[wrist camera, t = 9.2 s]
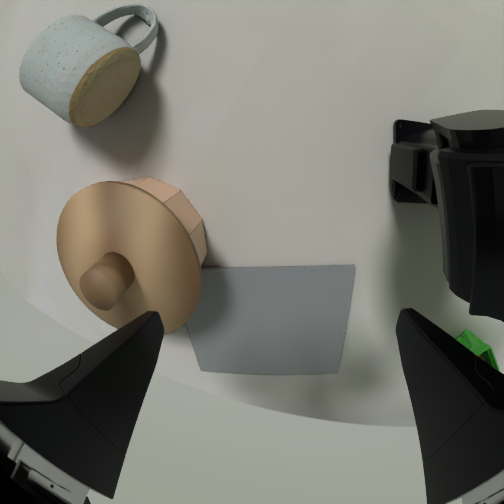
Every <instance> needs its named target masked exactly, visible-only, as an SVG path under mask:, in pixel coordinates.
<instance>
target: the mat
mask: <svg viewBox="0 0 504 504" xmlns="http://www.w3.org/2000/svg"><path fill="white" fill-rule="evenodd" d="M201 273H202V289H201V294H200V298H199V301H198V304H197V306H196V308H195V310H194V312H193V314H192V316H191V317H190V318H189V320H188V321H187V322H186V325H187V328H188V332H189V335H190V338H191V342H192V345H193V348H194V351H195V354H196V358H197V361H198V364H199V367H200V370H201V371H206V372H218V373H232V374H253V375H314V374H334V373H338V368H339V364H340V359H341V354H342V349H343V344H344V339H345V334H346V329H347V323H348V317H349V311H350V304H351V298H352V291H353V283H354V275H355V266H354V265H329V266H284V267H207V268H201Z"/></svg>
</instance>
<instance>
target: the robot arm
mask: <svg viewBox="0 0 504 504" xmlns="http://www.w3.org/2000/svg"><path fill="white" fill-rule="evenodd" d="M430 122H431V124H428V123H422V122H415V121H408V120H396V121H395V122H394V143H393V144H392V146H391V177H392V179H393V189H392V197H393V199H394V200H395V201H397V202H405V203H429V204H431V205H433V206H434V207H435V208H437V209H438V210H439V215H440V224H441V235H442V249H443V271H444V274H445V276H446V279H447V281H448V282H449V288H450V290H451V291H452V292H453V293H454V294H455V295H456V296H458V297H460V298H461V299H463V300H465V301H466V302H469V303H470V307H469V314H470V315H478V316H488V317H492V318H495V319H498V320H501V321H503V322H504V110H478V111H472V112H467V113H461V114H456V115H451V116H446V117H441V118H437V119H432V120H430ZM399 123H401V124H402V128H401V129H400V128H399V126H398V125H399ZM398 193H400V197H399V198H397V194H398ZM396 335H397V340H398V345H399V351H400V357H401V362H402V367H403V371H404V375H405V379H406V382H407V386H408V390H409V394H410V398H411V402H412V407H413V411H414V416H415V420H416V425H417V430H418V435H419V440H420V446H421V453H422V460H423V462H424V463H423V467H424V476H425V485H426V496H427V504H447V503H450V502H452V501H454V500H457V499H458V498H461V497H462V502H463V504H504V374H502V373H501V372H499V371H498V370H496V369H495V368H493V367H492V366H491V365H489V364H488V363H487V362H485V361H484V360H482V359H481V358H480V357H479V356H477V355H475V354H474V353H473V352H472V351H471V350H469V349H468V348H467V347H465V346H464V345H463V344H461V343H460V342H459V341H457V340H456V339H454V338H453V337H452V336H450V335H449V334H448V333H446V332H445V331H443V330H442V329H441V328H439V327H438V326H437V325H435V324H434V323H432V322H431V321H430V320H428V319H427V318H425V317H424V316H422V315H421V314H420V313H418V312H417V311H415V310H414V309H412V308H405V309H402V310H401V311H400V314H399V318H398V321H397V325H396ZM163 336H164V326H163V323H162V320H161V317H160V314H159V312H157V311H146V312H145V313H143V314H142V315H140V316H139V317H137V318H135V319H134V320H132V321H131V322H129V323H128V324H126V325H124V326H123V327H121V328H120V329H118V330H117V331H115V332H113V333H112V334H110V335H109V336H107V337H106V338H104V339H102V340H101V341H99V342H98V343H96V344H95V345H93V346H91V347H90V348H88V349H87V350H85V351H84V352H82V354H79V355H77V356H76V357H74V358H73V359H71V360H69V361H68V362H66V363H64V364H63V365H61V366H59V367H57V368H55V369H54V370H52V371H50V372H48V373H46V374H44V375H42V376H40V377H38V378H37V379H35V380H33V381H30V382H26V383H14V382H7V381H0V504H91V503H90V501H89V499H88V497H87V493H88V491H89V489H91V490H93V491H95V492H97V493H99V494H101V495H104V496H106V497H108V498H110V499H113V497H114V493H115V490H116V486H117V483H118V479H119V476H120V472H121V469H122V466H123V462H124V459H125V455H126V452H127V448H128V446H129V442H130V439H131V436H132V433H133V430H134V427H135V424H136V421H137V418H138V414H139V412H140V409H141V406H142V403H143V400H144V397H145V394H146V392H147V389H148V386H149V383H150V380H151V378H152V375H153V372H154V369H155V366H156V363H157V359H158V355H159V351H160V347H161V343H162V340H163Z"/></svg>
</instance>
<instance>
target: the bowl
mask: <svg viewBox="0 0 504 504" xmlns="http://www.w3.org/2000/svg"><path fill="white" fill-rule="evenodd" d="M122 182H123V183H127V184H131V185H134V186H136V187H139V188H141V189H143V190H145V191H147V192H148V193H150V194H152V195H153V196H155V197H156V198H157V199H159V200H160V201H161V202H163V203H164V204H165V205H166V206H167V207H168V208H169V209H170V210H171V211H172V212H173V213H174V214H175V216H176V217H177V218H178V219H179V220H180V222H181V223H182V225H183V226H184V227H185V229H186V230H187V232H188V234H189V236H190V238H191V240H192V241H193V243H194V246H195V249H196V251H197V254H198V257H199V261H200V265H201V266H202V264H203V261H204V259H205V257H206V254H207V252H208V251H207V245H206V239H205V232H204V226H203V220H202V218H201V217H200V215H199V214H198V213H197V211H196V210H195V209H194V207H193V206H192V205H191V203H190V202H189V201H188V199H187V198H186V197H185V195H184V194H183V193H182V191H181V190H179V189H177V188H174V187H172V186H170V185H168V184H166V183H163V182H161V181H159V180H157V179H155V178H152V177H145V178H138V179H132V180H126V181H122Z"/></svg>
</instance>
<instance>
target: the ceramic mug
mask: <svg viewBox="0 0 504 504" xmlns="http://www.w3.org/2000/svg"><path fill="white" fill-rule="evenodd" d="M132 14H134V15H139V16H140V17H142V18H143V19H145V20H146V21H147V24H148V25H151V27H150V29H149V30H148V32H147V33H146V34H145V35H144V36H143V37H142V38H141V39H140V40H139V41H138V42H137V43H136V44H134V45H130V44H129V43H128V42H126V41H125V40H123V39H122V38H120V37H118V36H117V35H115V34H113V33H111V32H109V31H108V30H106V29H105V28H103V26H105V25H106V24H108V23H110V22H111V21H113V20H115V19H117V18H120V17H123V16H126V15H132ZM158 30H159V28H158V20H157V16H156V13H155V12H154V11H153V10H152V9H151V8H150V7H148V6H146V5H143V4H139V3H130V4H124V5H121V6H118V7H115V8H113V9H111V10H108V11H106V12H104V13H103V14H101V15H100V16H98V17H97V18H95V19H94V20H90V19H88V18H86V17H84V16H79V15H72V16H68V17H64V18H61V19H59V20H57V21H55V22H54V23H52V24H51V25H49V26H48V27H46V28H45V29H44V30H43V31H42V32H41V33H40V34H39V35H38V36H37V37H36V38H35V39H34V40H33V42H32V43H31V44H30V46H29V48H28V49H27V51H26V53H25V54H24V57H23V59H22V62H21V66H20V71H19V78H20V83H21V86H22V88H23V89H24V90H25V91H26V92H27V93H28V94H30V95H31V96H33V97H34V98H35V99H36V100H38V101H39V102H41V103H42V104H43V105H45V106H46V107H47V108H49V109H50V110H51V111H53V112H54V113H55V114H56V115H58V116H59V117H60V118H62V119H63V120H65V121H67V122H68V123H71V124H73V125H75V126H78V127H89V126H92V125H95V124H98V123H100V122H101V121H103V120H104V119H106V118H107V117H108V116H110V115H111V114H112V113H113V112H114V111H115V110H116V109H117V108H118V107H119V106H120V105H121V104H122V103H123V102H124V100H125V99H126V98H127V97H128V95H129V94H130V92H131V90H132V89H133V87H134V85H135V83H136V81H137V79H138V76H139V72H140V66H141V61H140V57H139V54H140V53H141V52H143V51H144V50H145V49H146V48H148V47H149V45H150V44H151V43H152V41H153V40H154V39H155V37H156V35H157V33H158Z"/></svg>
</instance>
